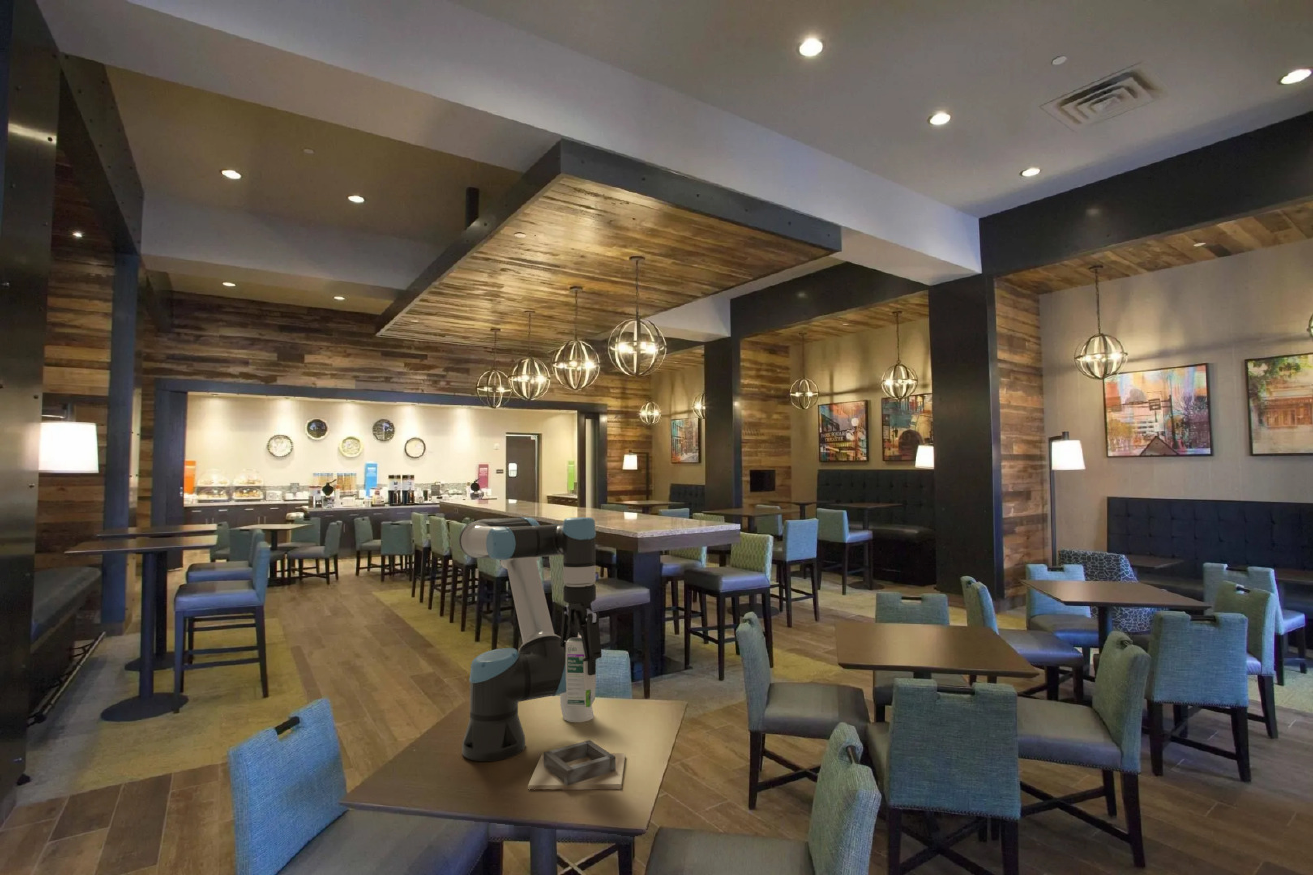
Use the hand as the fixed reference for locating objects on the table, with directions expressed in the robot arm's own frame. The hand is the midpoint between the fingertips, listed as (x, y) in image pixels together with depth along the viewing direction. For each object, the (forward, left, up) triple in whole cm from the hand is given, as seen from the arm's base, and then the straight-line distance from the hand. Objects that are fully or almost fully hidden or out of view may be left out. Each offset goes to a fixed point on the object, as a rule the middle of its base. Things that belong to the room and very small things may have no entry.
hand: (580, 684), depth 146 cm
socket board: (0, -1, -19) cm, 19 cm away
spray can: (-6, +36, -19) cm, 42 cm away
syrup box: (0, 0, -4) cm, 4 cm away
